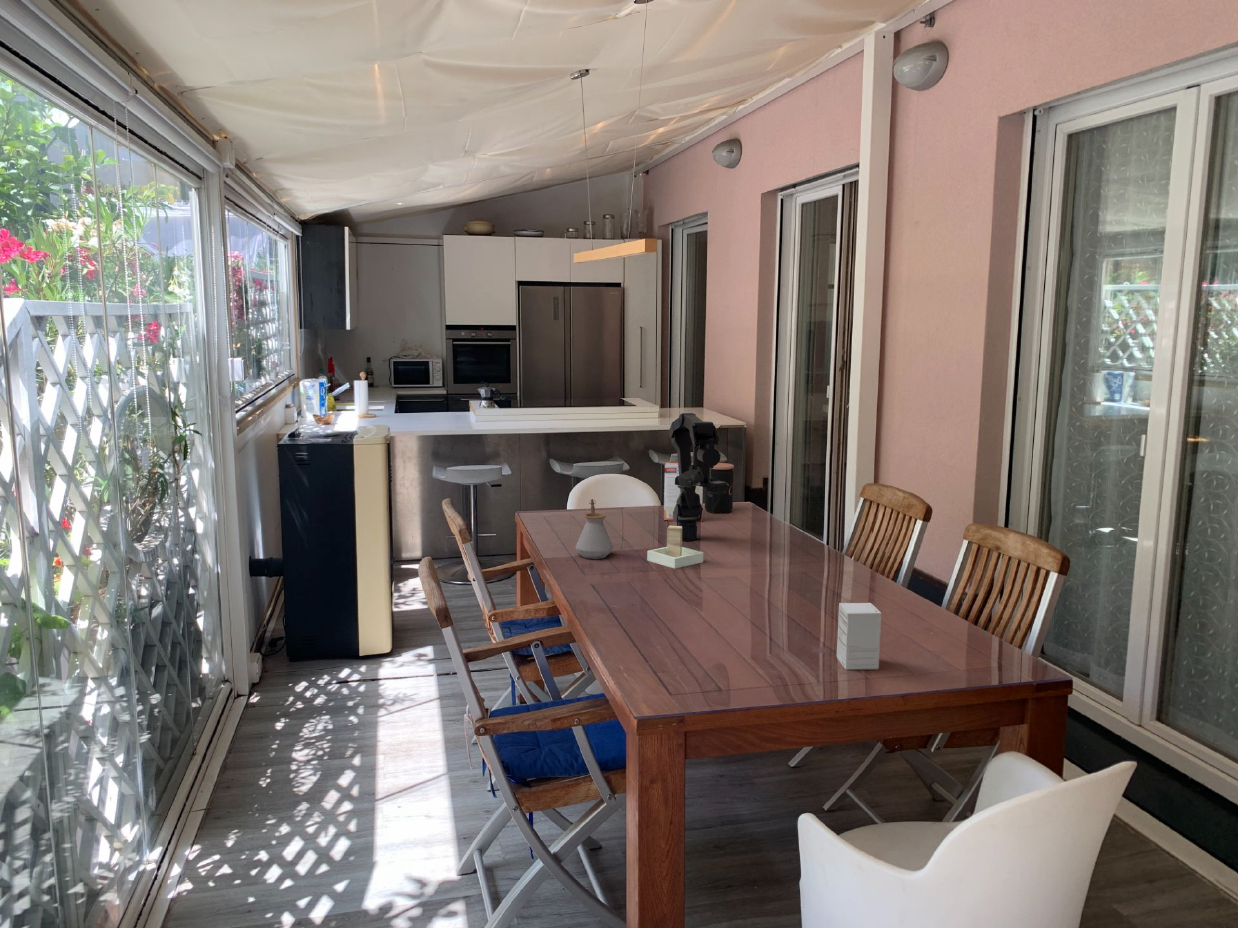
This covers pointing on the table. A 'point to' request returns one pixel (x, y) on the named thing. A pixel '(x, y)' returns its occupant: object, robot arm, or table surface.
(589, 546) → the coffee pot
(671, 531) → the handle block
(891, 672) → the table surface
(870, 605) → the supplement box
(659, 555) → the tray
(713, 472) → the coffee jar
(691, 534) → the robot arm
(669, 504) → the cracker box
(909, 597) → the table surface
